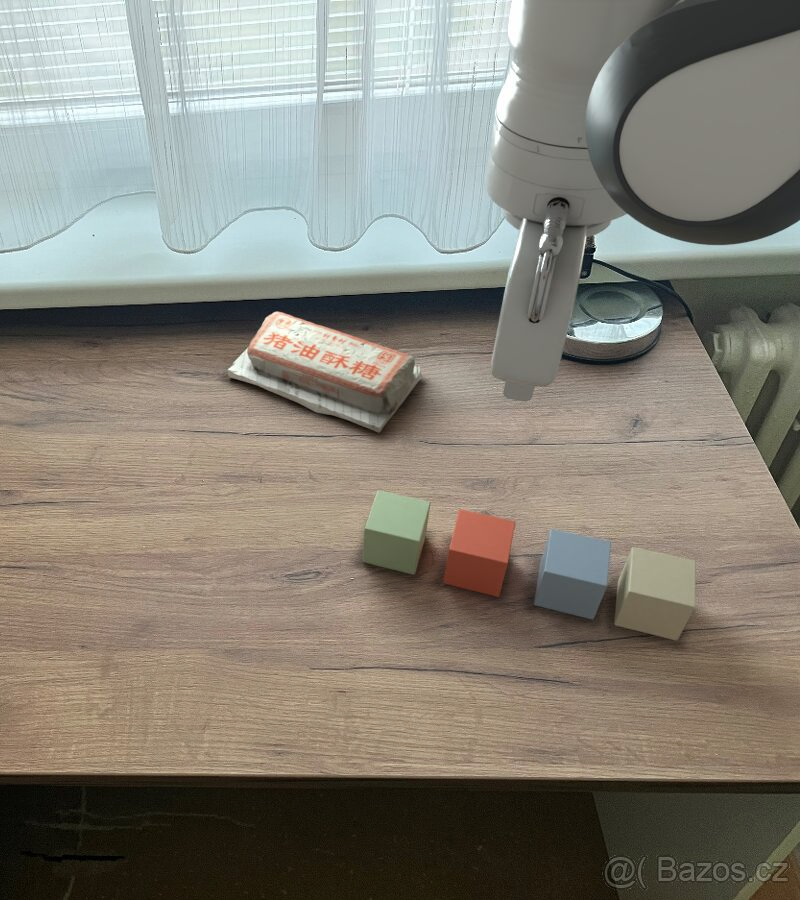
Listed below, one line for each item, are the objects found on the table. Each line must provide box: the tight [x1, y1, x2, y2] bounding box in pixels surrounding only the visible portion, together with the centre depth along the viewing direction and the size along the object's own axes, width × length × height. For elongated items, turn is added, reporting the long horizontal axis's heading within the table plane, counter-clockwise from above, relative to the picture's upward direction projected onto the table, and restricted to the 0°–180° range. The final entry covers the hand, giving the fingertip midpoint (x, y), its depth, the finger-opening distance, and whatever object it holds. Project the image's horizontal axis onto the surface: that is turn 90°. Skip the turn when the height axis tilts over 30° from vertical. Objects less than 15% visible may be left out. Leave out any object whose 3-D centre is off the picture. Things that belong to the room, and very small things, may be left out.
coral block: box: [442, 508, 516, 598], centre depth 72 cm, size 4×4×4 cm
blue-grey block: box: [533, 528, 612, 620], centre depth 69 cm, size 4×4×4 cm
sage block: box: [361, 489, 432, 576], centre depth 74 cm, size 4×4×4 cm
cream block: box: [613, 546, 697, 641], centre depth 67 cm, size 4×4×4 cm
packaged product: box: [226, 311, 423, 433], centre depth 90 cm, size 18×5×10 cm
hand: (526, 349), depth 60 cm, fingers open, 8 cm apart
